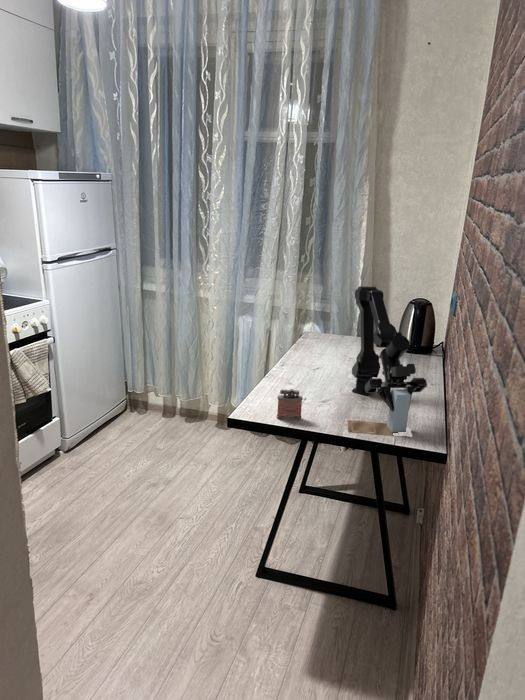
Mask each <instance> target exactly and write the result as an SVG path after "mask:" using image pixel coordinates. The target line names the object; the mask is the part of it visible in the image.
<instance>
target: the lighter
mask: <svg viewBox="0 0 525 700" xmlns="http://www.w3.org/2000/svg"><path fill="white" fill-rule="evenodd" d="M279 391H280V392H279V395H278V396H277V414H276V419H277V420H279V421H300V420H302V405H303V396H302V395H300V390H297V389H296V390H294V389H293V388H290V389H280V390H279Z"/></svg>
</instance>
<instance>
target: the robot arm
mask: <svg viewBox="0 0 525 700" xmlns="http://www.w3.org/2000/svg"><path fill="white" fill-rule="evenodd" d="M354 299H355V303H356V306H357V307H358V309H359V311H360V351H359V353H358V355H356V357H355V358H356V362H355V363H354V365H353V366H352V367H351V374H352V376H353V377H354V378H355V381H356V382H355V388H353V389H352V390H351V392H353V393H357V394H360V395H364V396H369V395H370V394H376V396H379V397H380V398H381V399H382V401H384V403H385V404H386V406H387V407H388V409H389V408H390V409H391V411H394V405H393V401H392V397H391V390H392V389H405V390H406V391H407V392H408V393H409V394H410V395H411V398H410V402H411V401H412V395H413V394H414V393H420V392H423V390H424V389H425V388H427V386H428V382H427V380H426V378H425V377H413V378H412V379H411V380H410V381H407V379H408V377H409V378H410V377H411V375H416V372H417V371H416V366H415V363H407V364H406V365H405V366H404V365H403V364H401V360H400V359H401V358H402V357H403V356H404V355H405V353H406V352H407V351H408V349H409V348H410V346H411V344H410V343H411V342H410V340H409V339H408V338H407V336H404V335H403V333H402V332H400V331H399V332H398V331H397V329H396V327H395V326H394V325H393V324H392V323H391V321H390V317H389V316H388V312H387V307H386V304H385V301H384V292H383V290H382V289H378V288H377V286H358V287H357V288H356V289H355V290H354ZM374 327H375V328H374ZM374 330H375V331H374ZM375 346H376V348H381V349H382V348H383V349H382V350H381V351H380V353H379V354H377V353H376V351H375ZM380 360H381V364H382V371H381V373H382V375H384V381H383V380H382V378H378V377H379V374H380V370H381V364H380ZM405 380H406V381H405ZM410 405H411V404H410ZM410 405H409V409H410V408H411V407H410Z"/></svg>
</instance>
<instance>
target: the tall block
mask: <svg viewBox="0 0 525 700" xmlns="http://www.w3.org/2000/svg"><path fill="white" fill-rule="evenodd" d="M391 397H392V401H393V405H394V411H391V409H390V408H389V407H388V416H387V422H386V423H387V427H388V428H389V429H390V430H391V431H392V432H406V427H407V425H408V420H409V419H408V418H409V411H410V408H409V405H411V401H410V398H411V399H412V396H411V395H410V394H409V393H408V392H407V391H406V390H405V389H403V388H395V389H391Z"/></svg>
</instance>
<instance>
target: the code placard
mask: <svg viewBox="0 0 525 700" xmlns="http://www.w3.org/2000/svg"><path fill="white" fill-rule="evenodd" d="M346 421H347V432H348V433H353V434H365V435H377V436H378V435H379V436H389V437H395V436H394V435H393V433H398V432H392V431H391V430H390V429H389V428H388V427H387V422H376V421H374V422H373V421H364V420H363V421H361V420H352V419H351V420H349V419H347V420H346Z"/></svg>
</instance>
